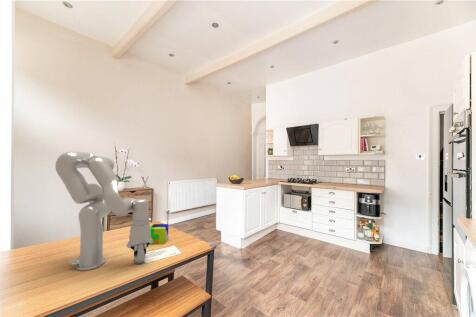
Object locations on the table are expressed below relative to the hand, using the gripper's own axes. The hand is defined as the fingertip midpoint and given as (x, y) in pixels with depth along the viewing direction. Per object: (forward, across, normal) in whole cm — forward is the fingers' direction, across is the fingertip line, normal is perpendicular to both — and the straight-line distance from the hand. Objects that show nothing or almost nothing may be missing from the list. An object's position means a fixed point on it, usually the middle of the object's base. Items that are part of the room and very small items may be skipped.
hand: (140, 256), depth 107 cm
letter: (+3, -12, -4) cm, 13 cm away
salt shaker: (+3, 0, 0) cm, 3 cm away
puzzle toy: (+4, -16, -23) cm, 28 cm away
